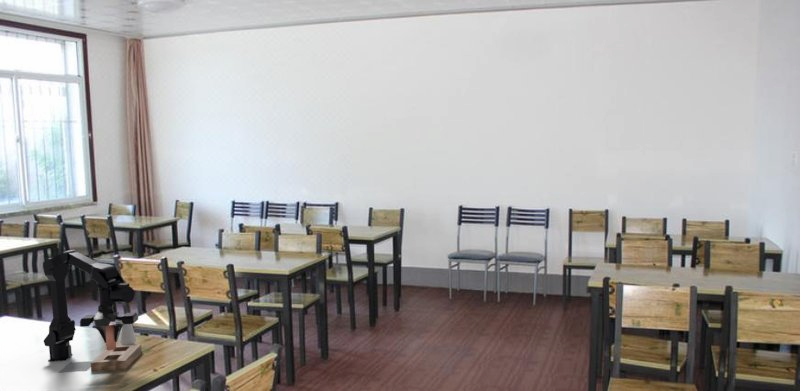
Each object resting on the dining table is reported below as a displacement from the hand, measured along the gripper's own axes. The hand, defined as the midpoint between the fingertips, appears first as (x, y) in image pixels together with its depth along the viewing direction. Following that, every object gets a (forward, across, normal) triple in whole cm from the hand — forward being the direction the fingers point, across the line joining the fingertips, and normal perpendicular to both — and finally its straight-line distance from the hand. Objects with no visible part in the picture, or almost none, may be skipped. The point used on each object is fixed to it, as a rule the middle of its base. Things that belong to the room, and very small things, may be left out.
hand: (111, 342), depth 226 cm
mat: (+9, -13, +2) cm, 16 cm away
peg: (+2, 0, 0) cm, 3 cm away
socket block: (+9, 0, +4) cm, 10 cm away
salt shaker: (+9, -2, +22) cm, 24 cm away
